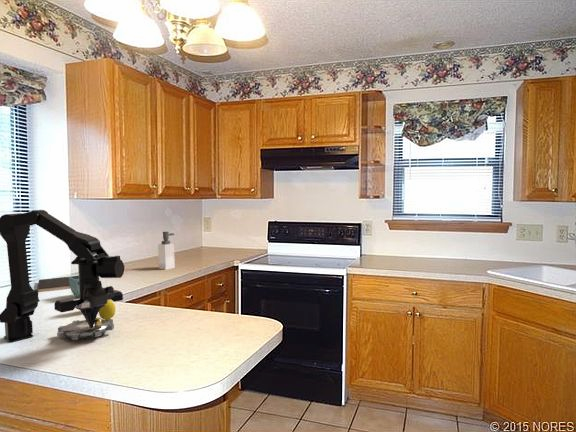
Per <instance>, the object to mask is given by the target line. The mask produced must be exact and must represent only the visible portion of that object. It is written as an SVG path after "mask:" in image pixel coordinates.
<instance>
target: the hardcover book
mask: <svg viewBox="0 0 576 432" xmlns="http://www.w3.org/2000/svg"><path fill="white" fill-rule="evenodd" d="M71 276H72V275H71ZM71 276H62V277H53V278H41V279H38V283H37V284H38V285H37V290H38V293H44V292H52V291H53V292H54V291H59V290H69V289H70V290H71V288H70V284H69V278H68V277H71Z"/></svg>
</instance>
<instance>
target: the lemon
mask: <svg viewBox="0 0 576 432" xmlns="http://www.w3.org/2000/svg"><path fill="white" fill-rule="evenodd" d="M98 315H99V318H101V319H104V320H108V319H112V318H114V316H115V315H116V305H115V302H114V301H112V300H111V299H109V300H108V302H107V304H105V306H104V307H102V308H101V309H100V310H99V312H98Z"/></svg>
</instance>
